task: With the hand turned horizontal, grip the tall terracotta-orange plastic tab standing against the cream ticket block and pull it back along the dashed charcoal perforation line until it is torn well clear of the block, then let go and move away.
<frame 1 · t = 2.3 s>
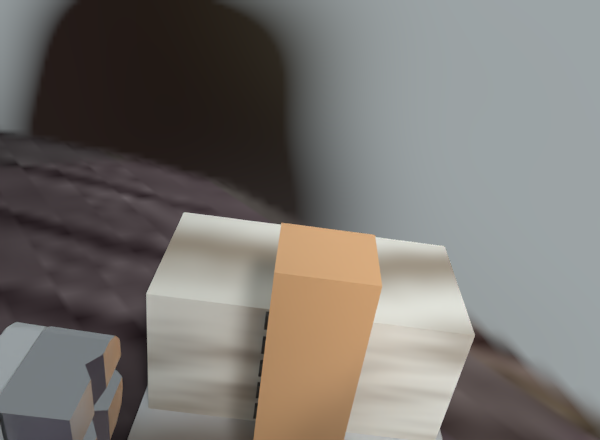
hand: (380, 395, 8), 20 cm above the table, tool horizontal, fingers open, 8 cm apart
stub tab: (306, 370, 25), point 8 cm above the table, slide at 0.0 cm
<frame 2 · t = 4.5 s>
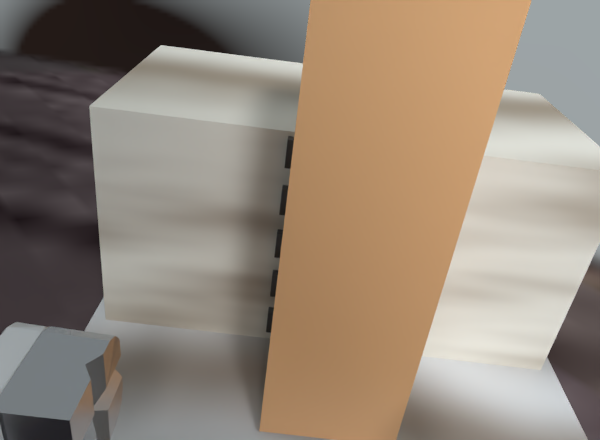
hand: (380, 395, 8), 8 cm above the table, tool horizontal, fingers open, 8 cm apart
stub tab: (361, 218, 14), point 8 cm above the table, slide at 0.0 cm
ticket block: (321, 419, 18), on the table
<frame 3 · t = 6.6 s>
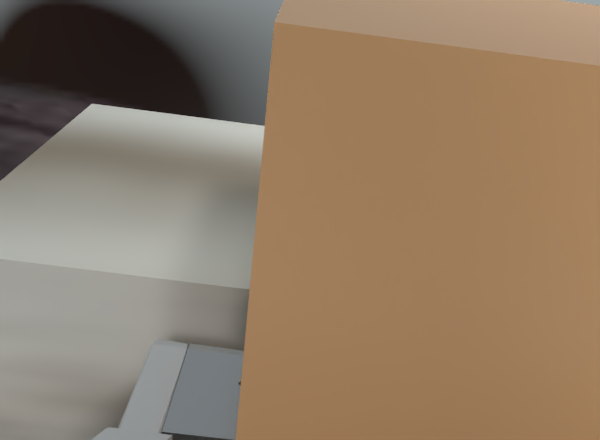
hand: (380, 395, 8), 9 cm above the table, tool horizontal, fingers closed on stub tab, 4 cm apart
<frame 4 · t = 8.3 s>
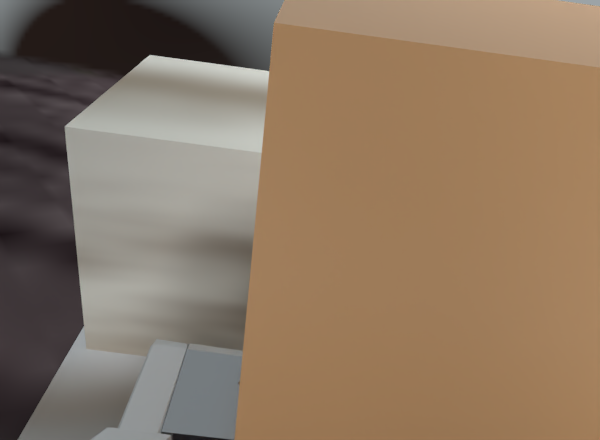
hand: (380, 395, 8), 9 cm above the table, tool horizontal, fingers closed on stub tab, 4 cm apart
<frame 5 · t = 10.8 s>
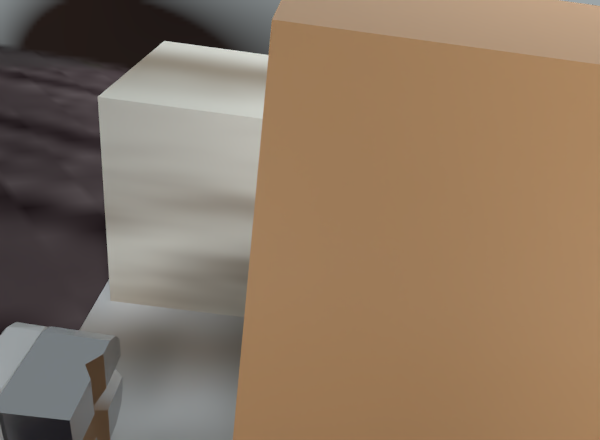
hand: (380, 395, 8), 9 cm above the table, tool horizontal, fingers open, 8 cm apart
ticket block: (314, 395, 19), on the table
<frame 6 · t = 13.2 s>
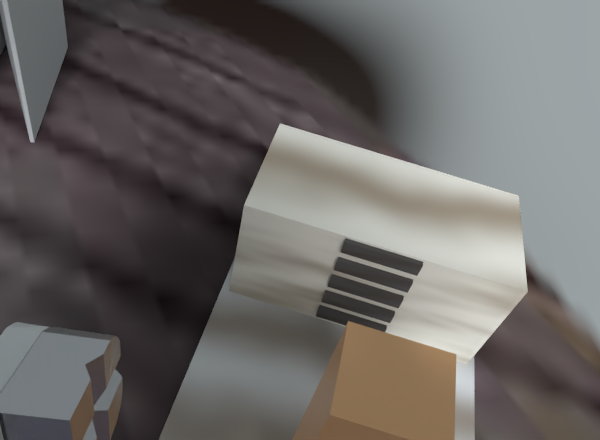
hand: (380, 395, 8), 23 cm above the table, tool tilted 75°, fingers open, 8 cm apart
brochure: (18, 88, 47), on the table
ticket block: (337, 368, 34), on the table
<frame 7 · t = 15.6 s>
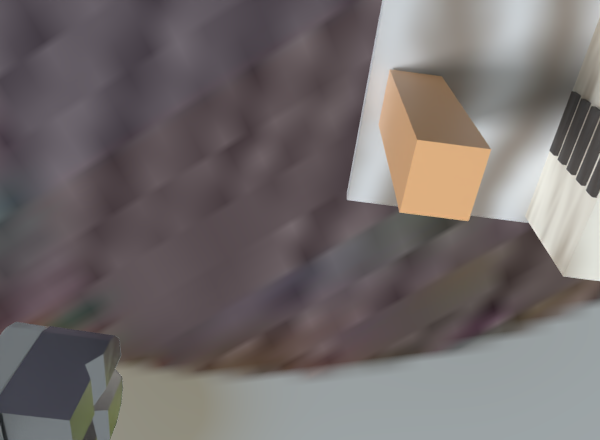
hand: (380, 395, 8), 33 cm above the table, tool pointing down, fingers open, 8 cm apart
stub tab: (423, 134, 33), point 8 cm above the table, slide at 8.5 cm
ticket block: (522, 110, 40), on the table
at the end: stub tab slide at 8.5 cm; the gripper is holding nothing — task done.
